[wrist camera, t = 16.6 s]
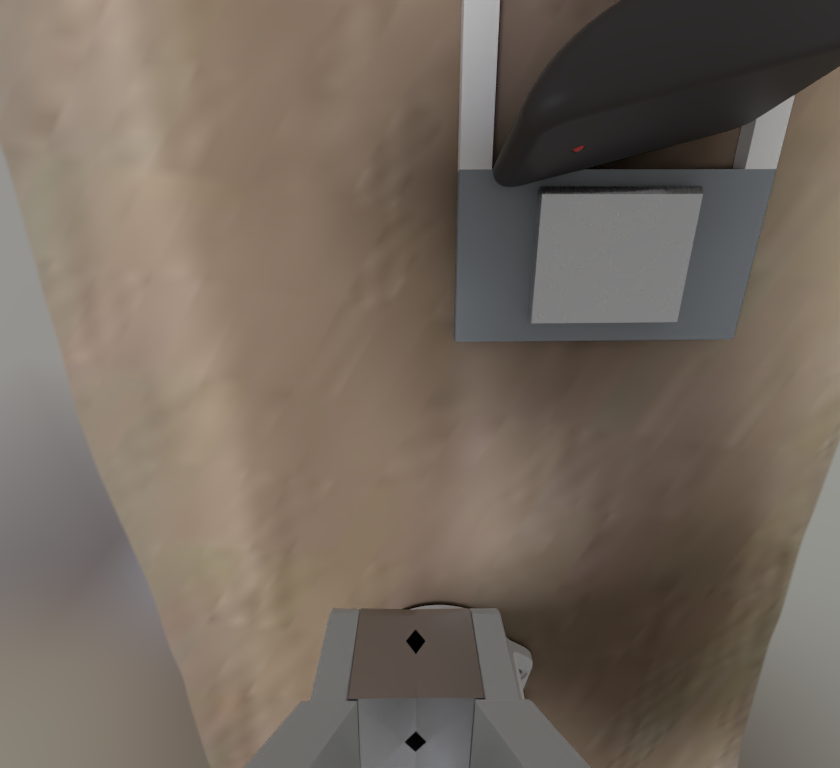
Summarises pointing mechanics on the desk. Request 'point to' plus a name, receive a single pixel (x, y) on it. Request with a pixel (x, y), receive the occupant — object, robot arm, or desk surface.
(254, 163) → the desk surface
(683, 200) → the light grey rectangular plate
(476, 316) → the mounting board
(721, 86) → the leaning round-cornered charcoal block
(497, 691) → the robot arm
